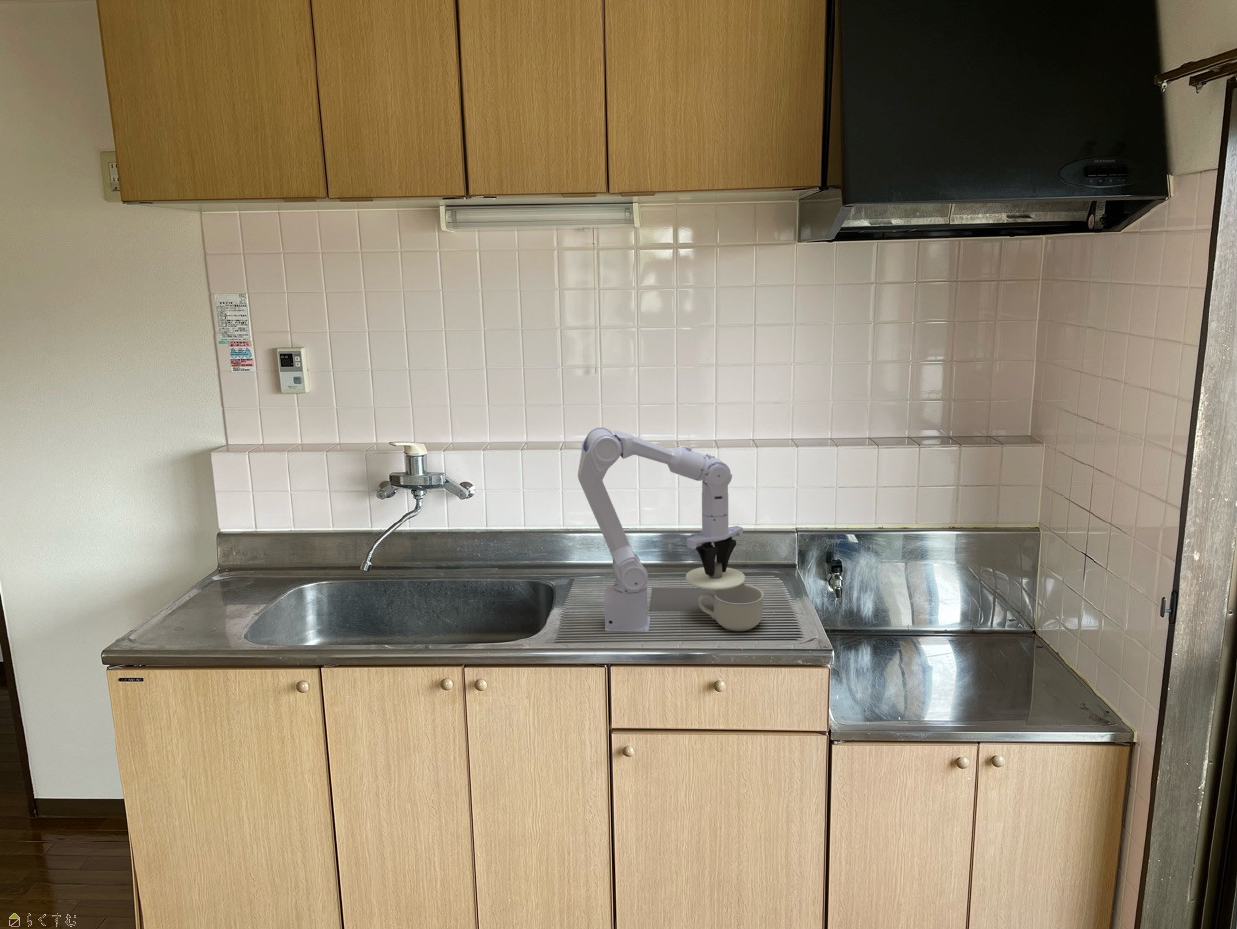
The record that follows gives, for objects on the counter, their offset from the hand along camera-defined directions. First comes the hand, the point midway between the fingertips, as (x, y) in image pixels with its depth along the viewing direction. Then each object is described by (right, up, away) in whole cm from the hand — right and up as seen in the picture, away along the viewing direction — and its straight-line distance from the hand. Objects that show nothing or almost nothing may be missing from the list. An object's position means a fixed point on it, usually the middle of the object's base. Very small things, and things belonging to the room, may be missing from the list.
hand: (715, 573), depth 202 cm
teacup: (+3, -11, -3) cm, 12 cm away
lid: (0, -1, 0) cm, 1 cm away
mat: (-6, -8, +13) cm, 16 cm away
